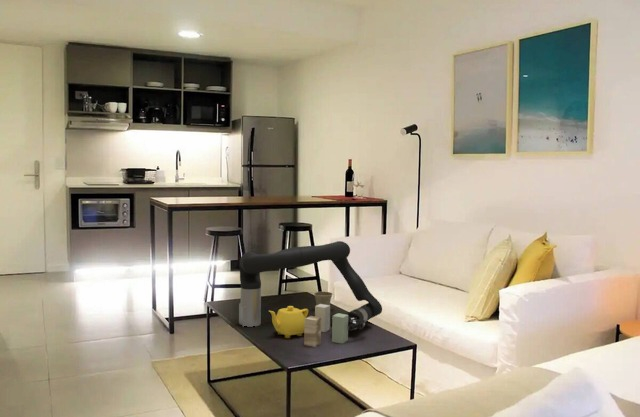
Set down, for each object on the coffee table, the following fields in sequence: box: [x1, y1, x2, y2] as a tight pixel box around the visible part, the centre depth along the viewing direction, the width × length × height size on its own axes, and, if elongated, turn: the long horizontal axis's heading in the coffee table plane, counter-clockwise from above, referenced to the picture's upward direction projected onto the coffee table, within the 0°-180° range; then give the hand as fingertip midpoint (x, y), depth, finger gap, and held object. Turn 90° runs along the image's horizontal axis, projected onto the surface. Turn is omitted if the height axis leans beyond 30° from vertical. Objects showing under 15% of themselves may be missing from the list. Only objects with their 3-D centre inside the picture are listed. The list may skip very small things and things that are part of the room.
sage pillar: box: [331, 312, 349, 344], centre depth 235 cm, size 5×5×11 cm
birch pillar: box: [303, 315, 322, 348], centre depth 230 cm, size 5×5×11 cm
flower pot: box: [313, 291, 333, 306], centre depth 284 cm, size 9×9×9 cm
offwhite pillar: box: [314, 304, 331, 333], centre depth 251 cm, size 5×5×11 cm
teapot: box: [268, 305, 309, 339], centre depth 243 cm, size 13×20×12 cm
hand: (340, 326), depth 236 cm, fingers open, 8 cm apart
